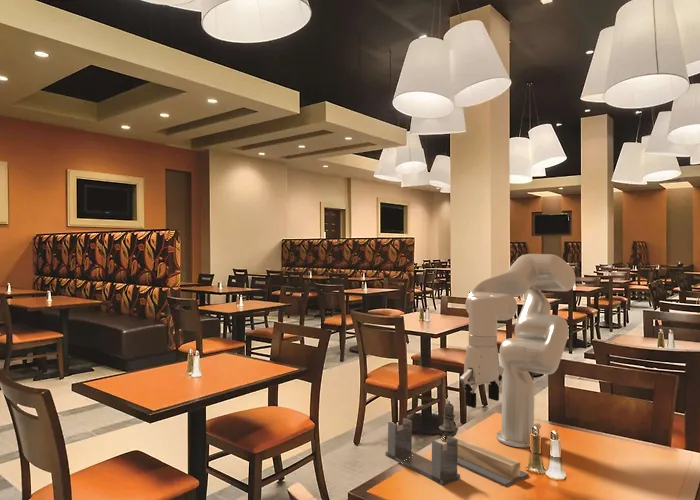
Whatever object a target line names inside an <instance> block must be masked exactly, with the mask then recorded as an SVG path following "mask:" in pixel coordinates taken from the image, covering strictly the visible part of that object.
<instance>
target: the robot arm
mask: <svg viewBox="0 0 700 500" xmlns="http://www.w3.org/2000/svg"><path fill="white" fill-rule="evenodd" d="M575 273H576V272H575V271H574V269H573V267H572V266H571V265H570V264H569V263H568V262H566V260H564V259H563V258H562V257H560V256H559V255H556V254H552V253H550V254H549V253H547V254H546V253H527V254H523V255H520V256H519V257H518V258H517V259H516V260H515V261H514V262H513V263H512V265H511V266H509V267H508V269H507V270H506V271H505V272H503V273H500V274H497V275H495V276H492V277H490V278H487V279H484V280H482V281H480V282H479V283H478V284H476V285H475V286H474V287H473V288H472V289H471V290H470V292H469V293H468V294H467V297H466V299H465V310H466V312H467V313H468V346H466V349H465V357H464V367H463V374H462V375H461V376H460V377H459V381H460V383H461V387H462V388H463V391H464V392H465V406H467V407H469V408H473V409H475V408H477V393H476V390H477V388H478V386H480V385H485V384H488V385H487V386H488V389H487V390H488V393H487V394H488V395H487V396H488V399H489V400H492V401H496V402H498V401H500V386H501V381H502V386H501V387H502V388H501V389H502V390H501V391H502V392H501V430H499V431H498V432H497V433H496V435H495V436H496V440H497V441H499V442H500V443H501V444H503V445H506V446H509V447H515V448H522V449H523V448H524V449H525V448H526V449H527V448H530V447H529V445H530V434H531V429H532V427H534V426H537V427H538V428H539V430H541V428H542V425H541V423H539V422H538V423H535V383H534V379H533V378H532V376H531V374H530V373H535V374H542V375H552V374H554V373H555V372H557V369H558V368H559V366H560V362H561V360H562V357H563V354H564V351H565V347H566V345H567V341H568V339H569V338H568V337H569V325H568V322H567V320H566V319H565V318H564V317H563V316H560V315H556V314H550V313H551V310H552V305H551V304H550V301H549V300H548V298H547V297H546V296H545V294H543V293H542V291H552V292H569V291H571V290H572V289H573V288H574V286H575V284H576V274H575ZM519 296H523V299H524V301H523V305H522V307H521V310H520V313H519V315H518V318H517V320H516V321H515V325H514V334H515V337H511V338H506V339H505V340H503V341H502V342H501V344H500V346H499V350H498V321H508V320H512V319H513V318H514V316H516V314H517V311H518V302H517V300H516V299H515V298H516V297H519Z"/></svg>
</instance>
